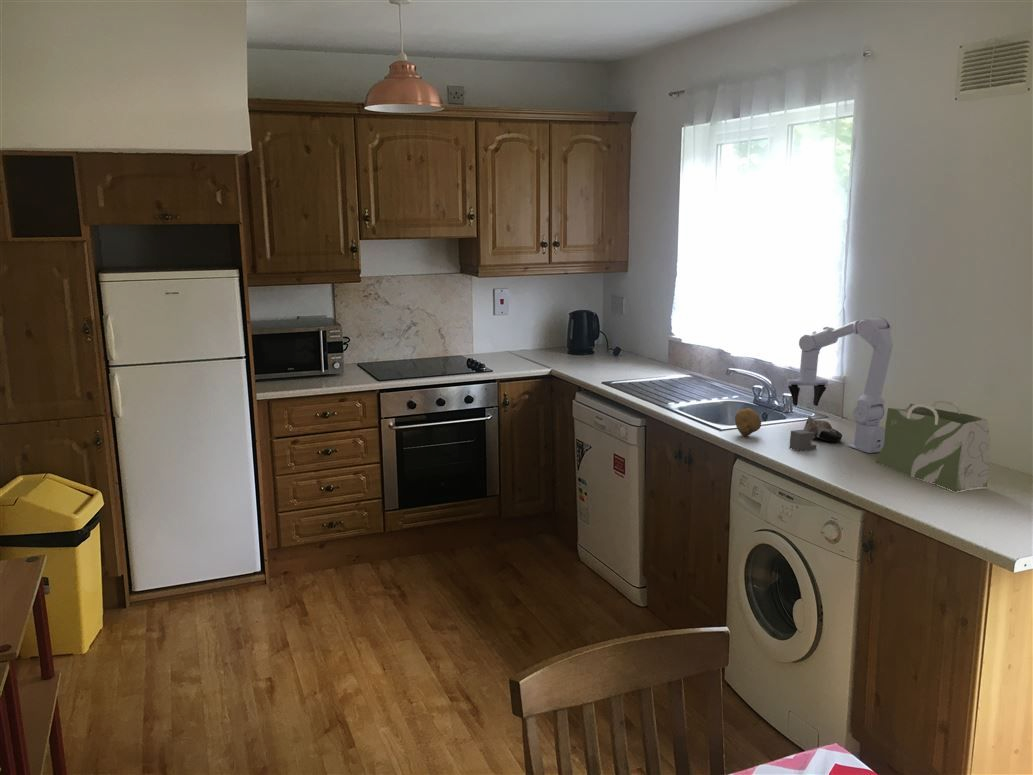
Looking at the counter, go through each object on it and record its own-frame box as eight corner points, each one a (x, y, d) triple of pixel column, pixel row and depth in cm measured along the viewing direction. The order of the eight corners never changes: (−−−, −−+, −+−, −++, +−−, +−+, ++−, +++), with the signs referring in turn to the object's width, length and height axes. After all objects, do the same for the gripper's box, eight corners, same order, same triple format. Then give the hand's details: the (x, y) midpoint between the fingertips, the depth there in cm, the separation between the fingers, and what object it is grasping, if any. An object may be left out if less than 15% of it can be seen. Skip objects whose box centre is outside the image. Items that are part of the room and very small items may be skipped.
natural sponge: (757, 433, 310) (760, 406, 308) (762, 439, 302) (764, 411, 300) (731, 432, 311) (734, 405, 309) (735, 438, 303) (737, 410, 301)
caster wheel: (842, 449, 301) (818, 447, 298) (824, 435, 311) (801, 432, 308) (849, 432, 299) (825, 429, 296) (831, 418, 309) (807, 415, 306)
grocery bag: (872, 462, 277) (879, 391, 273) (905, 459, 282) (913, 389, 278) (954, 493, 248) (964, 414, 243) (989, 489, 253) (1000, 411, 248)
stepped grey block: (816, 449, 291) (817, 432, 290) (798, 451, 288) (800, 434, 287) (806, 446, 295) (808, 428, 294) (789, 448, 292) (790, 430, 291)
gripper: (823, 366, 314) (819, 402, 317) (784, 365, 313) (781, 402, 316) (832, 369, 307) (828, 407, 310) (792, 369, 306) (789, 407, 309)
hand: (805, 405), depth 313 cm, fingers open, 7 cm apart
